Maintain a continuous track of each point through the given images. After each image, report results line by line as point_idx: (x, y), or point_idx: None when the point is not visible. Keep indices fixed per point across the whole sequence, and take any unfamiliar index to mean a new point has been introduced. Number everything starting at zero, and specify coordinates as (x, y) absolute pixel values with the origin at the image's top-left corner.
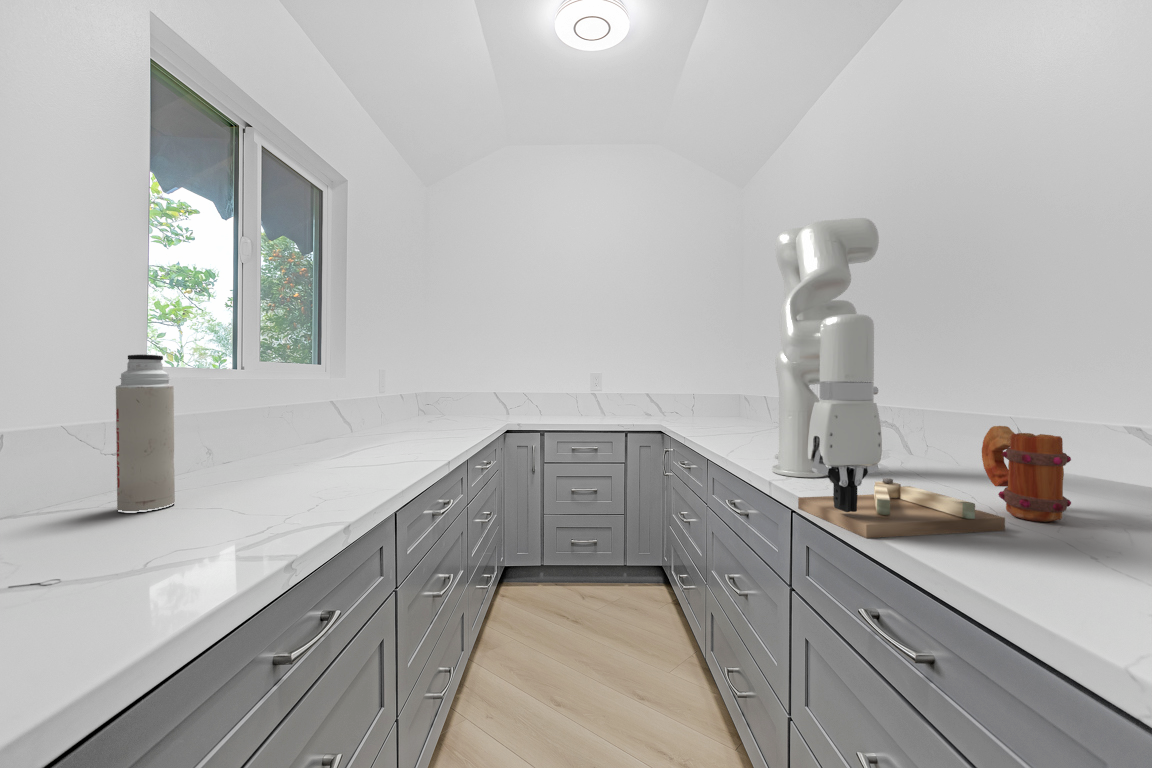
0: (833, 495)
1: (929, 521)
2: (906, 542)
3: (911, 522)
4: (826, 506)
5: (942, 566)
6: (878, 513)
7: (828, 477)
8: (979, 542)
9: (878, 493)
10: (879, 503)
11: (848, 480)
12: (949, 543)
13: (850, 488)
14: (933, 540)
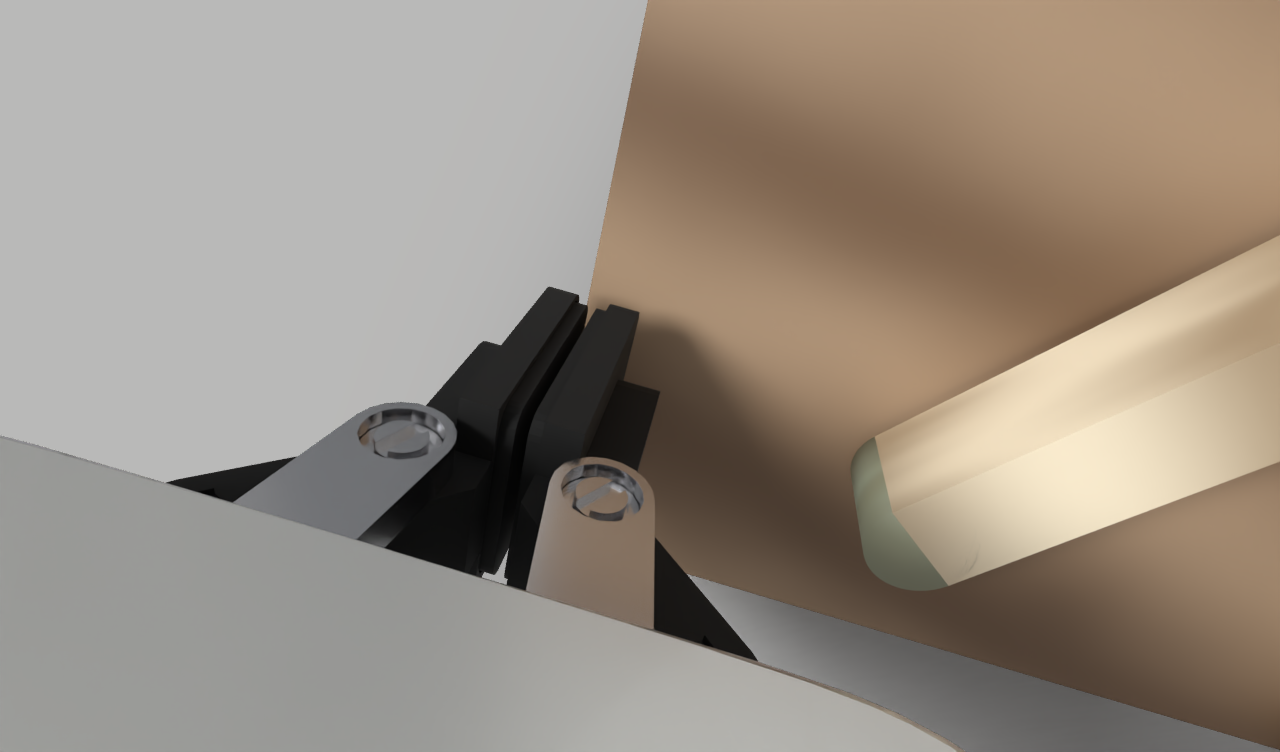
0: (461, 365)
1: (999, 664)
2: (707, 592)
3: (863, 624)
4: (696, 56)
5: None
6: (855, 458)
7: (268, 476)
8: (1054, 739)
9: (1231, 390)
10: (861, 522)
11: (518, 569)
12: (893, 684)
13: (478, 576)
14: (875, 637)
